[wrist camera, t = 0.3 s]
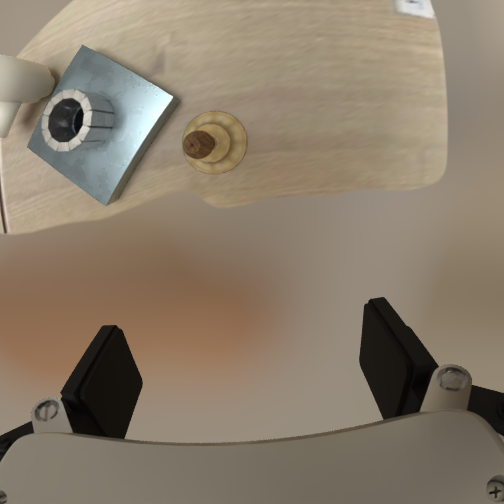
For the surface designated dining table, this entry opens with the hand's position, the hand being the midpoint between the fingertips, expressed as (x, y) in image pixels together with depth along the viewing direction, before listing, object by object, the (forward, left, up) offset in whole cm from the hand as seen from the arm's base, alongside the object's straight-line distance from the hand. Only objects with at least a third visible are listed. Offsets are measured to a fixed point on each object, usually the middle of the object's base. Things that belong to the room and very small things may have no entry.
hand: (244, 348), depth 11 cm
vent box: (+3, -22, -31) cm, 38 cm away
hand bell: (-3, -7, -31) cm, 32 cm away
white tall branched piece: (+5, -35, -31) cm, 47 cm away
